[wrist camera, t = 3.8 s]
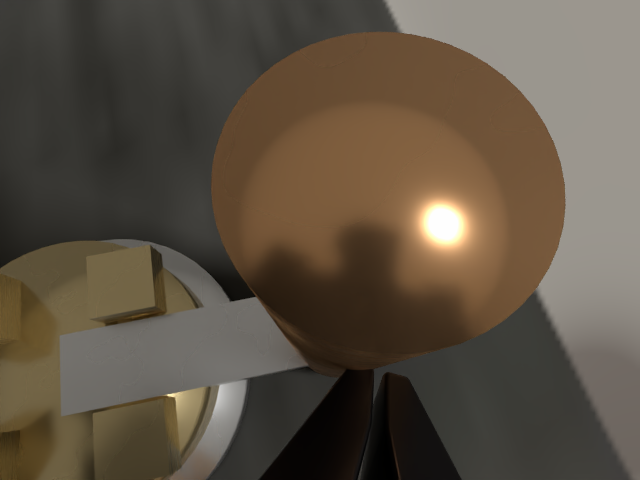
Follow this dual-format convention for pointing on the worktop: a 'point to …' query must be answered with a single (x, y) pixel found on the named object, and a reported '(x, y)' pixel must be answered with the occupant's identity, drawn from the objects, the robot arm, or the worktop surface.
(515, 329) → the worktop surface
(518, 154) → the bronze dome and bar
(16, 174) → the worktop surface
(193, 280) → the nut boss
